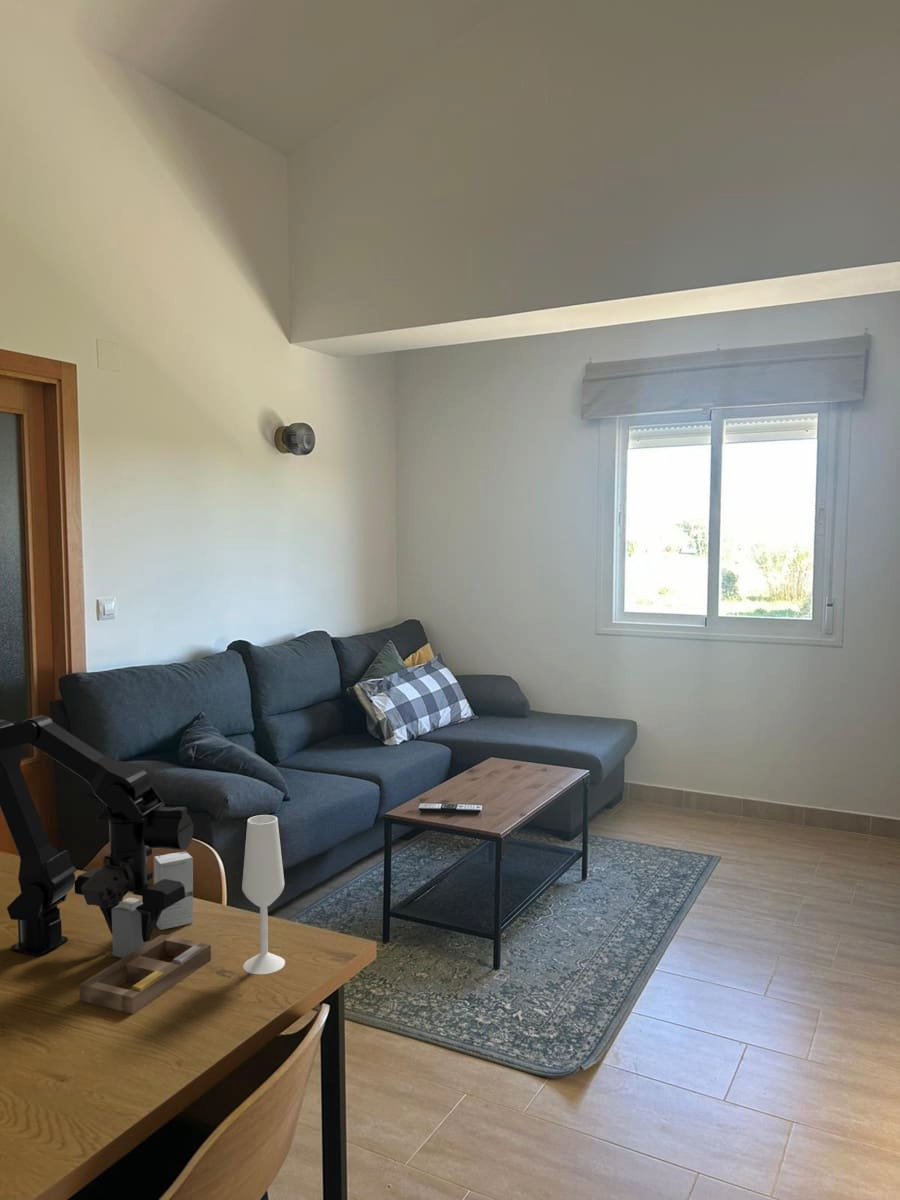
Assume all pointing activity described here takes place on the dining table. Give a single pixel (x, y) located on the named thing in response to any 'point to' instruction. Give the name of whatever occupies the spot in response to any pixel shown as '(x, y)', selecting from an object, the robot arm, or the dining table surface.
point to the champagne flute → (263, 883)
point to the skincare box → (182, 871)
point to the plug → (126, 928)
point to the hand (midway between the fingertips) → (130, 937)
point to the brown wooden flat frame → (145, 973)
